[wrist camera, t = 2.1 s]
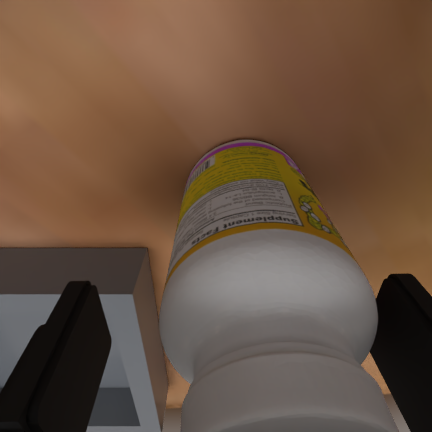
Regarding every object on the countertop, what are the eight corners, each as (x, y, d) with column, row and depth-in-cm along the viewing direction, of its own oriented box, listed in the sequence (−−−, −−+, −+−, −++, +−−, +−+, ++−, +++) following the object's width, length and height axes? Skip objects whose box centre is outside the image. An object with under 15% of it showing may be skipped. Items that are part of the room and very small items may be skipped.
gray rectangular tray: (147, 247, 19) (132, 294, 16) (168, 385, 28) (161, 435, 24) (-101, 248, 19) (-169, 294, 16) (-5, 385, 28) (-36, 434, 24)
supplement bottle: (301, 232, 19) (421, 517, 8) (196, 244, 19) (170, 528, 8) (302, 125, 15) (521, 367, 4) (174, 143, 16) (77, 401, 5)
